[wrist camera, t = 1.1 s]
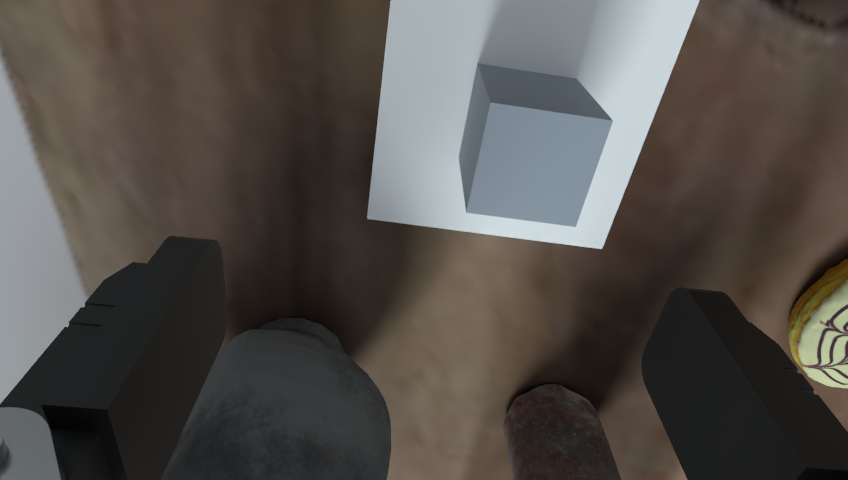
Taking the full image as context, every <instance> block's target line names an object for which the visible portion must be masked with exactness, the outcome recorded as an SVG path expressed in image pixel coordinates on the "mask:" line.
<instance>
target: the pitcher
mask: <svg viewBox="0 0 848 480" xmlns="http://www.w3.org/2000/svg"><path fill="white" fill-rule="evenodd" d="M390 452H391V425H390V417H389V413H388V409H387V405H386V402H385V400H384V398H383V396H382V394H381V393H380V391H379V389H378V388H377V386H376V385H375V384H374V382H373V381H372V380H371V378H370V377H369V375H368V374H367V373H366V372H365V371H364V370H363V369H361V368H360V367H359V366H358V365H357V364H356V363H355V362H354V361H353V360H352V359H351V358H350V357H348V356H347V355H346V354H345V351H344V349H343V347H342V345H341V343H340V341H339V339H338V337H337V336H336V335H335V334H333V333H332V332H331V331H329V330H328V329H327V328H326V327H324V326H323V325H321V324H318V323H315V322H313V321H310V320H307V319H304V318H281V319H278V320H275V321H272V322H269V323H267V324H264V325H262V326H261V327H260V328H259V329H258V330H257V329H250V330H248V331H245V332H243V333H241V334H239V335H238V336H236V337H235V338H234V339H233V340H232V341H230V342H229V343H228V344H227V345H226V347H225V348H224V349H223V350H222V351H221V352H220V353H219V355H218V356H217V357H216V359H215V361H214V363H213V365H212V367H211V370H210V372H209V374H208V376H207V379H206V381H205V383H204V385H203V387H202V390H201V392H200V394H199V396H198V398H197V401H196V403H195V405H194V407H193V409H192V412H191V414H190V416H189V418H188V420H187V423H186V425H185V427H184V429H183V432H182V434H181V436H180V438H179V440H178V443H177V445H176V447H175V449H174V451H173V454H172V456H171V458H170V460H169V462H168V465H167V467H166V469H165V471H164V473H163V476H162V478H161V480H386V479H387V474H388V468H389V460H390Z"/></svg>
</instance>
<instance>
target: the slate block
mask: <svg viewBox="0 0 848 480" xmlns="http://www.w3.org/2000/svg"><path fill="white" fill-rule="evenodd" d="M612 123H613V120H612V119H611V118H610V116H609V115H608V114H607V113H606V112H605V111H604V110H603V108H602V107H601V106H600V105H599V104H598V103H597V101H596V100H595V99H594V98H593V97H592V96H591V95H590V93H589V92H588V91H587V90H586V89H585V88H584V86H583V85H582V84H581V83H580V82H579V81H578V80H577V79H576V78H569V77H563V76H556V75H550V74H543V73H537V72H531V71H524V70H518V69H511V68H505V67H498V66H492V65H485V64H479V63H477V68H476V73H475V78H474V83H473V88H472V93H471V98H470V103H469V108H468V113H467V118H466V123H465V128H464V133H463V138H462V143H461V148H460V153H459V164H460V172H461V179H462V186H463V193H464V200H465V207H466V213H473V214H480V215H488V216H496V217H503V218H511V219H518V220H526V221H534V222H541V223H549V224H556V225H564V226H572V227H576V225H577V222H578V219H579V216H580V214H581V211H582V208H583V205H584V202H585V199H586V197H587V194H588V191H589V188H590V185H591V182H592V180H593V177H594V174H595V171H596V168H597V165H598V162H599V160H600V157H601V154H602V151H603V148H604V145H605V143H606V140H607V137H608V134H609V131H610V128H611V125H612Z"/></svg>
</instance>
